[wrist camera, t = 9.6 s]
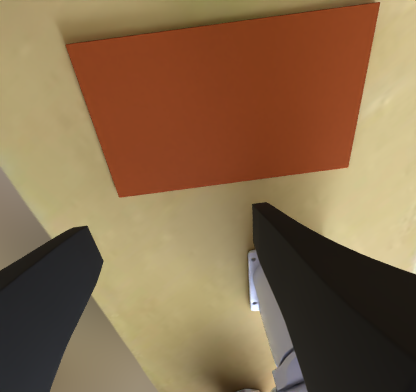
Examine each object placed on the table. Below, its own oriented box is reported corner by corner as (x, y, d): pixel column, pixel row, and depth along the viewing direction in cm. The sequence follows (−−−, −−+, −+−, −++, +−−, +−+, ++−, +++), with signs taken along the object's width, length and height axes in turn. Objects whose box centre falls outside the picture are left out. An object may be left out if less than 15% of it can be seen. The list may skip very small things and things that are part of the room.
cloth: (345, 165, 19) (348, 167, 18) (120, 195, 19) (119, 197, 18) (375, 4, 14) (380, 1, 13) (68, 45, 14) (64, 44, 13)
